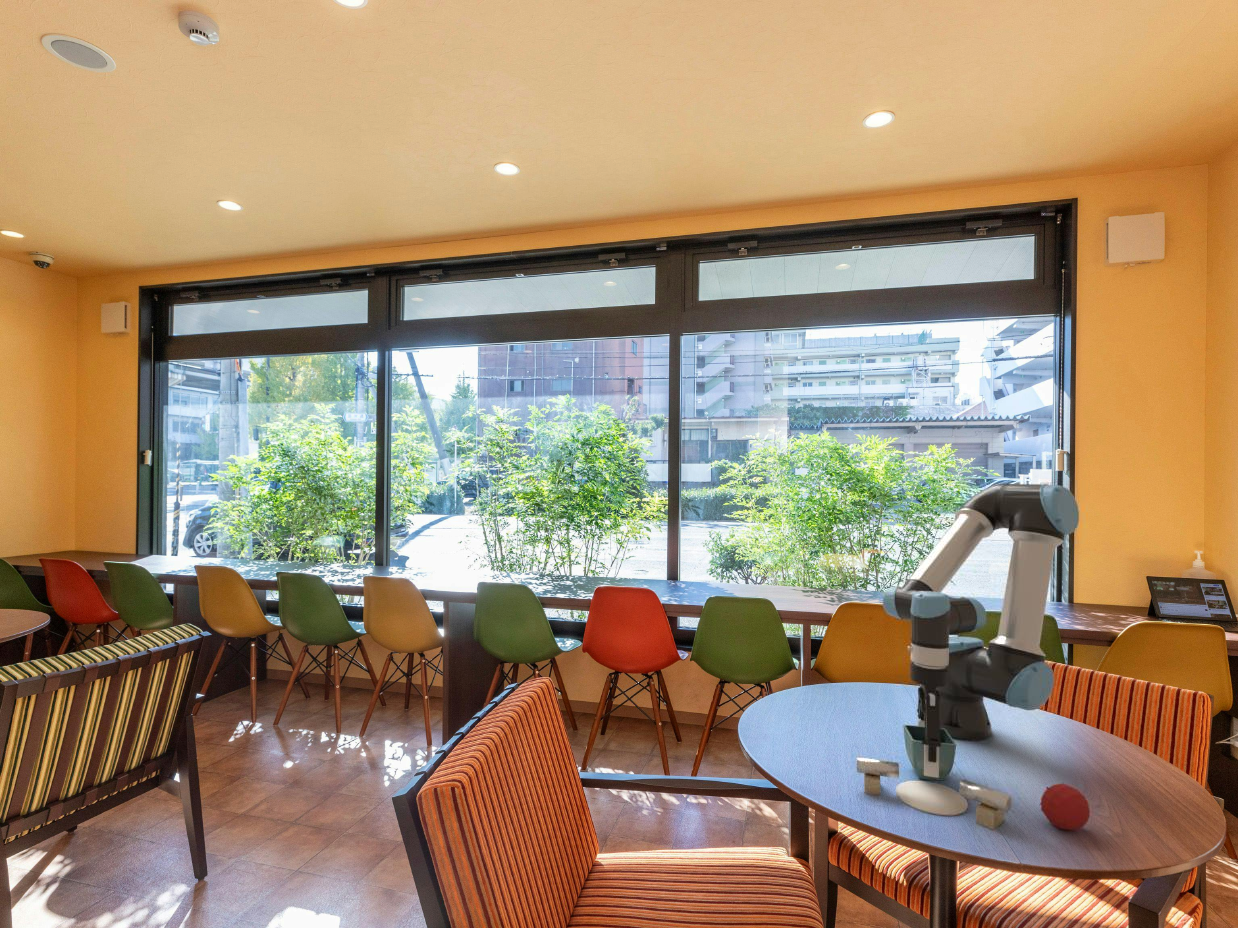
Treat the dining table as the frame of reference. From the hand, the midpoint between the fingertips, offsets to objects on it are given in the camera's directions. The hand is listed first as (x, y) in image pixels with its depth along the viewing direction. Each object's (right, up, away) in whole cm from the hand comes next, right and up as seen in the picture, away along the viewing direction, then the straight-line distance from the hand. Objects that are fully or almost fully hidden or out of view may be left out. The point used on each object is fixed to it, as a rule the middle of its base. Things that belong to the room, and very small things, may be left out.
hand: (927, 762), depth 139 cm
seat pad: (-4, -3, -10) cm, 11 cm away
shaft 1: (-14, -3, -6) cm, 15 cm away
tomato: (+16, -3, -19) cm, 25 cm away
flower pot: (0, -3, 0) cm, 3 cm away
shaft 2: (+2, -3, -17) cm, 18 cm away
